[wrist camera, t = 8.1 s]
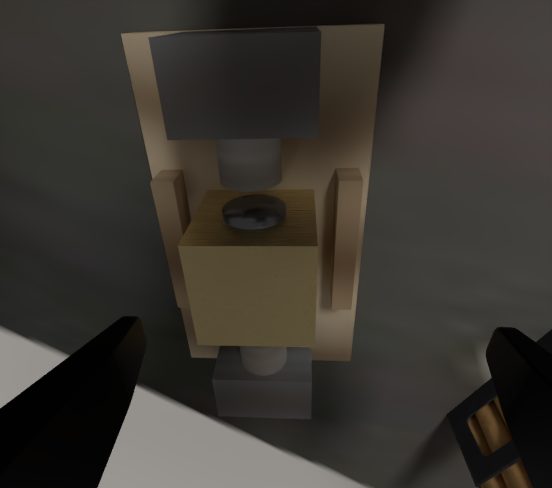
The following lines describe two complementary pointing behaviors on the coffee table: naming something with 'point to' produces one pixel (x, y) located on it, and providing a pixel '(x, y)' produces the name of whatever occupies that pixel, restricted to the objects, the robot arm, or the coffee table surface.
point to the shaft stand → (264, 170)
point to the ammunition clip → (490, 437)
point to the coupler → (253, 268)
